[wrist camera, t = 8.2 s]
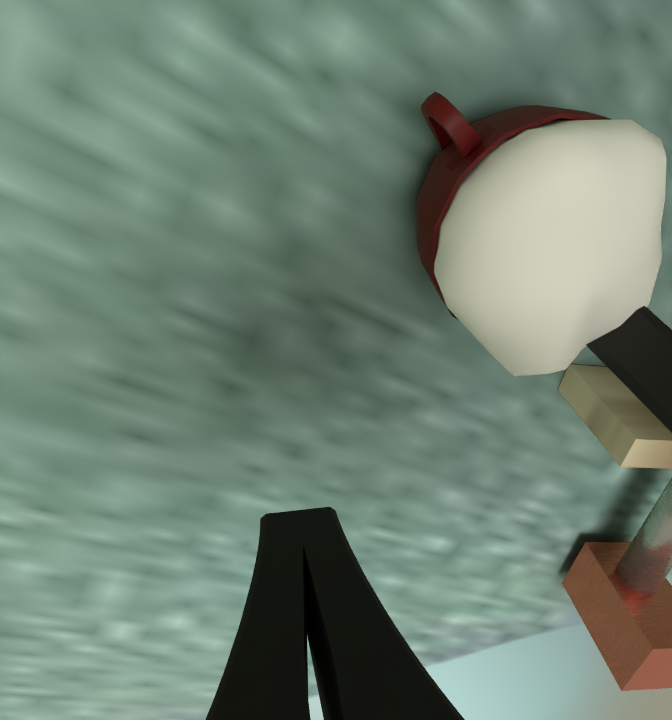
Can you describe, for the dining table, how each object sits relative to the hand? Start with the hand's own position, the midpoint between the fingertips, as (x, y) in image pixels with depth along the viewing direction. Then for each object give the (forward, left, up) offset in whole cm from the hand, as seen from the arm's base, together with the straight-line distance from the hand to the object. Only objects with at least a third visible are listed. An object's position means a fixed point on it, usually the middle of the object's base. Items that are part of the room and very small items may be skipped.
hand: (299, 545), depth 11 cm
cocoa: (-7, -4, -10) cm, 13 cm away
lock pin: (-18, +8, -9) cm, 22 cm away
